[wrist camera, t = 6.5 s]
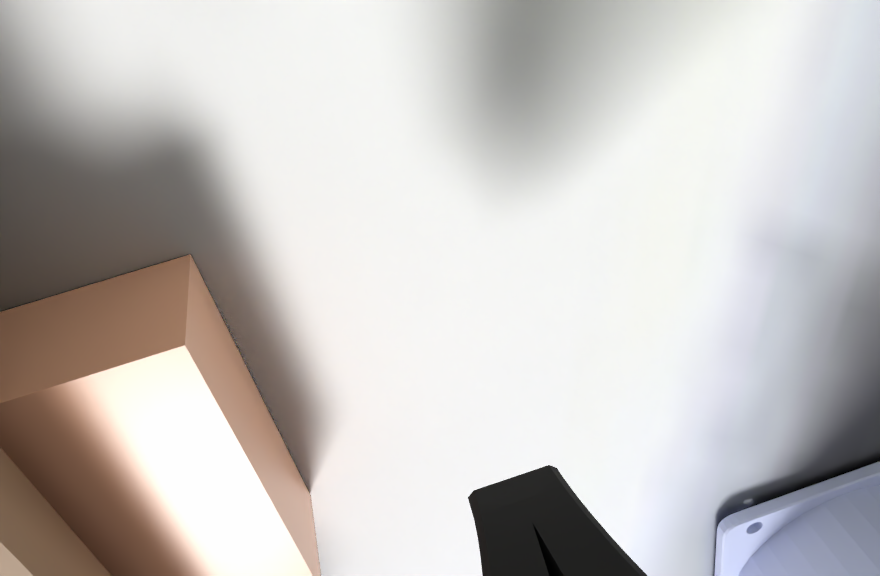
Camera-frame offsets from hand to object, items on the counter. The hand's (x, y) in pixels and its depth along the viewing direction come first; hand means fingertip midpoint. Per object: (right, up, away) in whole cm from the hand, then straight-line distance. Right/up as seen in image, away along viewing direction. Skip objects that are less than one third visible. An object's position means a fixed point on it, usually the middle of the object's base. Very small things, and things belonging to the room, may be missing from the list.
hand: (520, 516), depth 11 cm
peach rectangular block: (-9, 0, +3) cm, 9 cm away
